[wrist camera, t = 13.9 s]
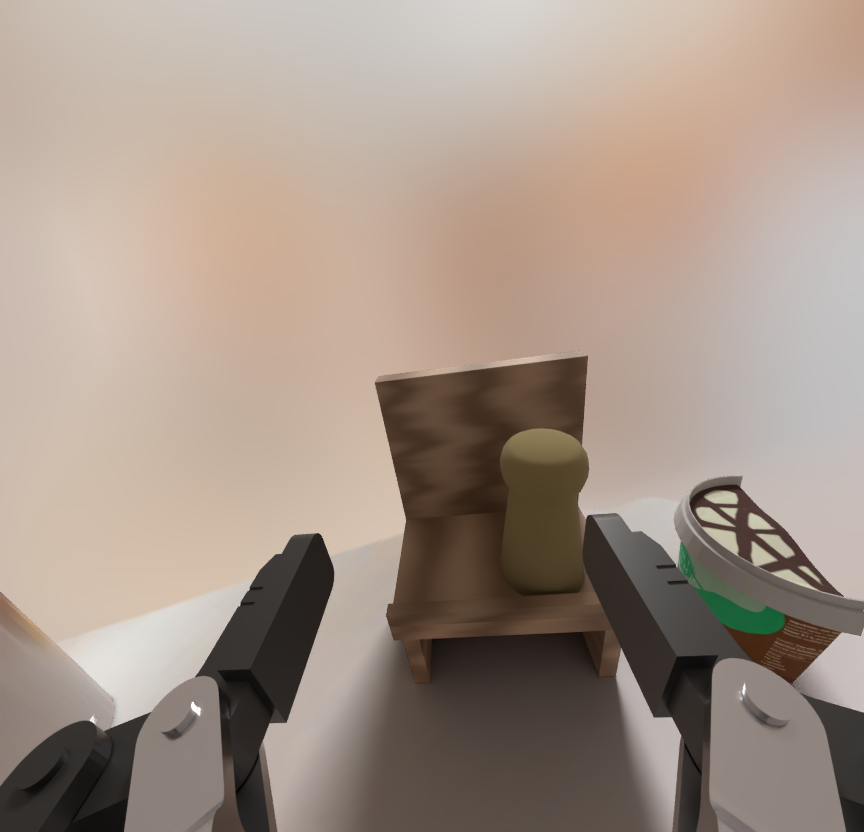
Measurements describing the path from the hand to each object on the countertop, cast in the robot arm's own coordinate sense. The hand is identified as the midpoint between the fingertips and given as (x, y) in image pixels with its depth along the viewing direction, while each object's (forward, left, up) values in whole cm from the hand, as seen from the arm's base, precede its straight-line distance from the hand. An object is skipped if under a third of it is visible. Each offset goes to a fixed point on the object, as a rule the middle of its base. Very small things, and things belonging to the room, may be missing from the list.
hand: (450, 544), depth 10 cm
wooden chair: (+2, +11, -22) cm, 24 cm away
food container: (+19, +11, -22) cm, 31 cm away
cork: (+5, +10, -14) cm, 18 cm away
